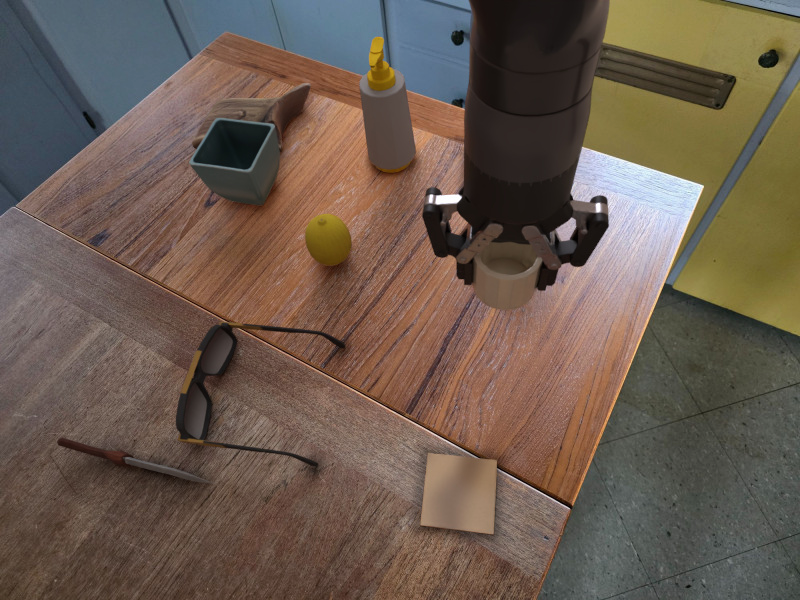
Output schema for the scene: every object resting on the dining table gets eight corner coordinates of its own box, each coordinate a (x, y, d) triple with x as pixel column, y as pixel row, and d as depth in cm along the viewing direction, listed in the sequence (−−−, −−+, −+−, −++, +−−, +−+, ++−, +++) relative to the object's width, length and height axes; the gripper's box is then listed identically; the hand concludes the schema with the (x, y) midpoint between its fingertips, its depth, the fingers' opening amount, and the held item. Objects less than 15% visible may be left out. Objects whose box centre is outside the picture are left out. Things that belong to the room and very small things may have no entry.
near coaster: (496, 460, 56) (497, 460, 55) (493, 534, 52) (493, 534, 52) (427, 453, 57) (427, 452, 57) (420, 525, 53) (420, 525, 53)
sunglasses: (318, 467, 57) (307, 454, 53) (183, 449, 59) (162, 434, 55) (346, 347, 64) (338, 326, 60) (224, 334, 66) (208, 314, 62)
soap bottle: (365, 176, 78) (342, 64, 63) (373, 141, 81) (352, 27, 66) (413, 177, 77) (402, 64, 62) (419, 142, 80) (409, 26, 65)
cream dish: (537, 259, 51) (544, 225, 47) (535, 313, 48) (543, 282, 44) (474, 255, 52) (476, 221, 48) (469, 307, 49) (470, 276, 45)
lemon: (305, 261, 71) (288, 221, 64) (336, 235, 73) (324, 194, 66) (333, 285, 69) (319, 246, 62) (365, 257, 70) (355, 217, 64)
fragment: (228, 104, 91) (216, 76, 87) (319, 104, 88) (311, 75, 84) (197, 157, 84) (182, 130, 80) (295, 159, 80) (284, 131, 76)
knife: (222, 478, 57) (211, 471, 55) (216, 493, 57) (204, 487, 54) (73, 440, 61) (56, 431, 59) (66, 453, 60) (48, 445, 58)
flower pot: (293, 172, 80) (275, 123, 72) (271, 219, 75) (250, 172, 68) (238, 165, 81) (215, 116, 74) (213, 210, 77) (186, 163, 70)
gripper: (404, 174, 35) (420, 309, 49) (645, 184, 32) (588, 322, 47) (419, 94, 38) (430, 241, 53) (636, 99, 36) (586, 251, 51)
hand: (504, 279), depth 50 cm, fingers closed on cream dish, 6 cm apart
